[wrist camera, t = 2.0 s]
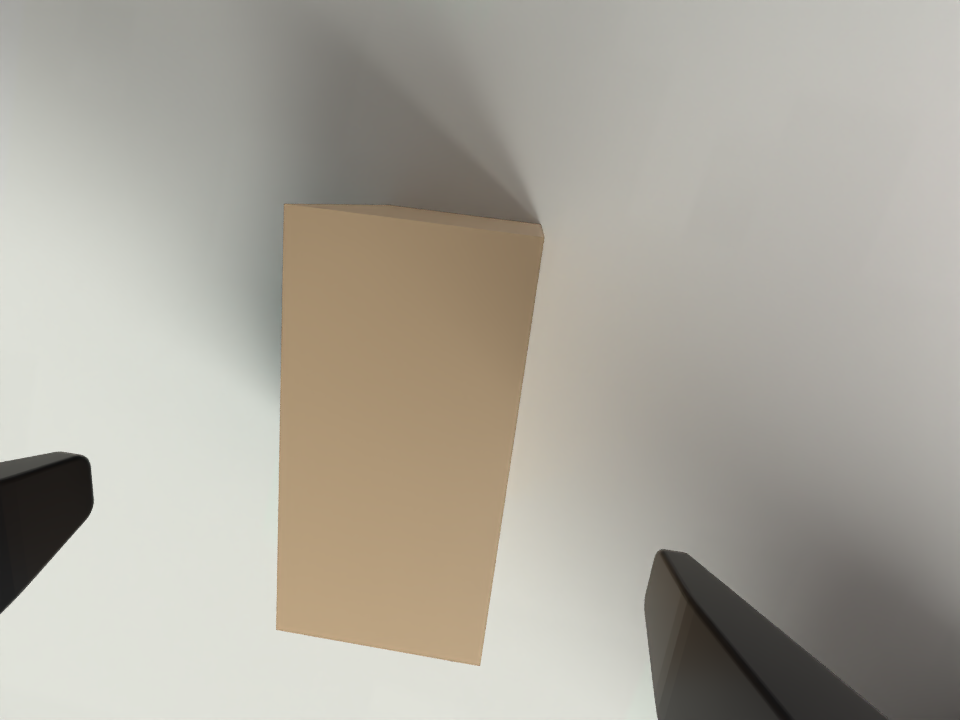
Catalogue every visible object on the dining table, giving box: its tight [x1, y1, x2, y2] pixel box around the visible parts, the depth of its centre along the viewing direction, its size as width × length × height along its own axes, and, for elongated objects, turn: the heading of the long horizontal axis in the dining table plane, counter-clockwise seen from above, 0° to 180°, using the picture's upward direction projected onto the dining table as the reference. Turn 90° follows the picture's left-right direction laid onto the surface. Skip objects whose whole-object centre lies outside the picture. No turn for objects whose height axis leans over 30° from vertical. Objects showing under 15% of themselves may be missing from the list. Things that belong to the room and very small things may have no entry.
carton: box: [276, 204, 544, 666], centre depth 14 cm, size 5×9×7 cm, turn 173°
